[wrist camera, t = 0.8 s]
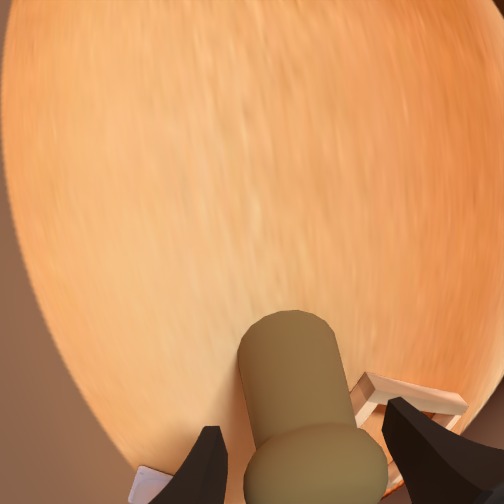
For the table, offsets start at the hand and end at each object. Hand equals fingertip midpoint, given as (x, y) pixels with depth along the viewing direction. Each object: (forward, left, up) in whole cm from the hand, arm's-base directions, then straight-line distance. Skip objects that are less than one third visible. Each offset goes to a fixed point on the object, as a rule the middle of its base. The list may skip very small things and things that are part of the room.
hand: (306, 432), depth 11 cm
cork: (0, 0, -7) cm, 7 cm away
